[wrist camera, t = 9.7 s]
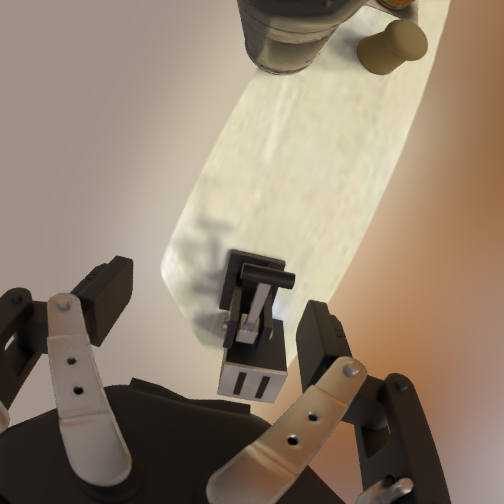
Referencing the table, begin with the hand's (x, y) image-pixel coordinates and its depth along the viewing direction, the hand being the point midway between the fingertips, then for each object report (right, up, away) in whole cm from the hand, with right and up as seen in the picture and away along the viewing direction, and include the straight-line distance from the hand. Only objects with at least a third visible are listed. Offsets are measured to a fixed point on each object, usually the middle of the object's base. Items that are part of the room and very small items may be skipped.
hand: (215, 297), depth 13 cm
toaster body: (+2, -11, +36) cm, 38 cm away
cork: (+19, +29, +18) cm, 39 cm away
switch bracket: (+1, -3, +32) cm, 32 cm away
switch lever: (+2, -3, +20) cm, 20 cm away
